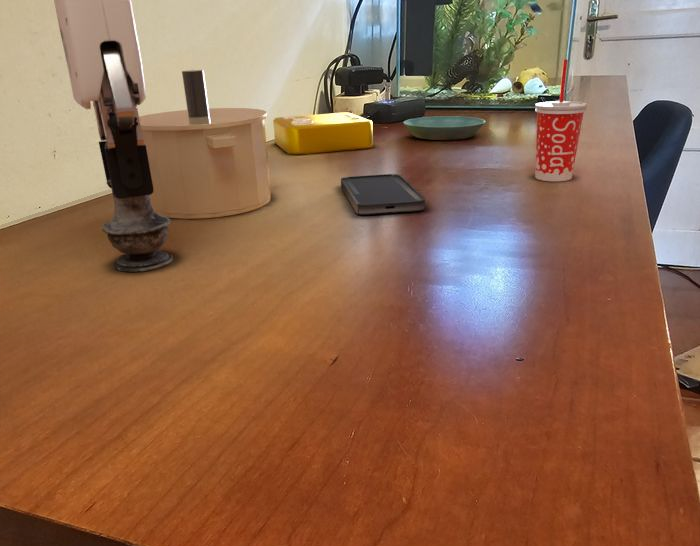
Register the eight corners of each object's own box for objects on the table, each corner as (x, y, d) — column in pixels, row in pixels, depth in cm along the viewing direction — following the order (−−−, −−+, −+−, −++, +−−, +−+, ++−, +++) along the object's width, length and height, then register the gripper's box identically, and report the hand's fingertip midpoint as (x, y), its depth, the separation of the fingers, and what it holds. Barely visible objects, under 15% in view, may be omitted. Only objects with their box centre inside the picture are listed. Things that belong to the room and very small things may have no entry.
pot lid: (143, 141, 65) (132, 78, 62) (121, 125, 77) (111, 72, 75) (287, 126, 71) (282, 68, 68) (244, 113, 83) (239, 64, 81)
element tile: (376, 148, 108) (375, 118, 106) (289, 156, 105) (286, 125, 102) (351, 136, 121) (350, 109, 119) (273, 142, 117) (270, 115, 115)
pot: (167, 231, 67) (151, 137, 63) (136, 194, 83) (121, 118, 79) (296, 211, 73) (289, 123, 68) (243, 180, 89) (235, 107, 85)
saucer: (478, 143, 108) (479, 127, 107) (394, 142, 113) (394, 126, 112) (489, 130, 121) (490, 115, 120) (413, 129, 125) (413, 115, 124)
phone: (398, 173, 83) (427, 200, 70) (398, 182, 84) (427, 210, 70) (338, 177, 82) (356, 205, 69) (339, 186, 83) (356, 215, 69)
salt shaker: (98, 263, 59) (68, 125, 53) (156, 248, 62) (134, 117, 57) (128, 277, 55) (99, 130, 49) (188, 260, 58) (167, 122, 53)
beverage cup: (524, 181, 82) (534, 61, 75) (533, 171, 87) (544, 58, 80) (574, 183, 79) (589, 60, 73) (581, 173, 84) (595, 57, 78)
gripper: (26, -46, 53) (77, 179, 61) (30, -76, 39) (95, 219, 47) (120, -46, 55) (157, 170, 64) (154, -73, 42) (195, 205, 50)
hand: (130, 188), depth 55 cm, fingers closed on salt shaker, 3 cm apart
